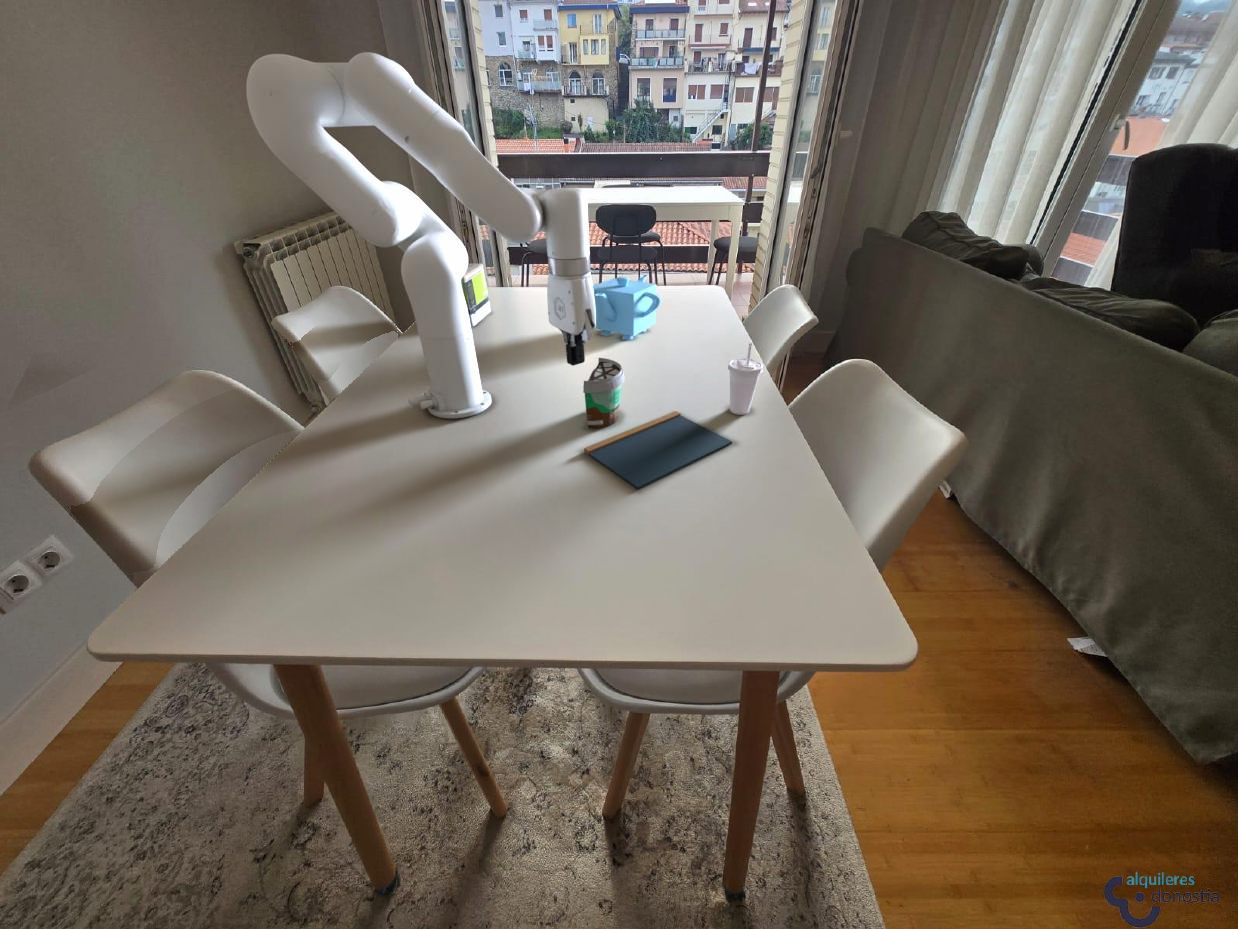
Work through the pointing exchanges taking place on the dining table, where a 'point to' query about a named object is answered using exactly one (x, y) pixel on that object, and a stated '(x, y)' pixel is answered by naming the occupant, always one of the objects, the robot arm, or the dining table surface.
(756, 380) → the smoothie
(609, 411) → the food container
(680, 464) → the dark blue notebook
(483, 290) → the tea box
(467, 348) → the robot arm
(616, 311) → the teakettle
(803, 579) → the dining table surface
